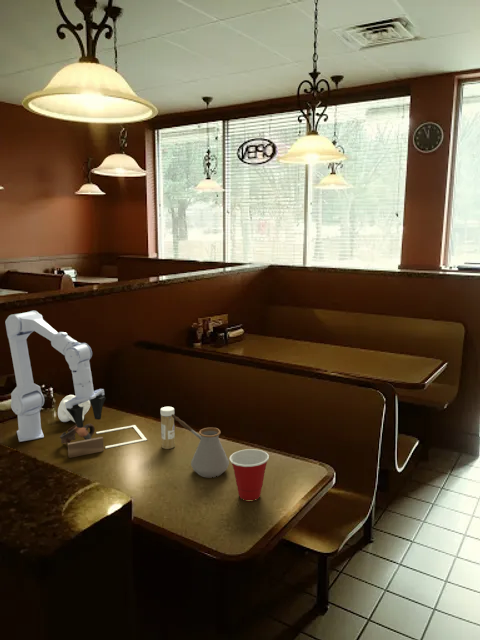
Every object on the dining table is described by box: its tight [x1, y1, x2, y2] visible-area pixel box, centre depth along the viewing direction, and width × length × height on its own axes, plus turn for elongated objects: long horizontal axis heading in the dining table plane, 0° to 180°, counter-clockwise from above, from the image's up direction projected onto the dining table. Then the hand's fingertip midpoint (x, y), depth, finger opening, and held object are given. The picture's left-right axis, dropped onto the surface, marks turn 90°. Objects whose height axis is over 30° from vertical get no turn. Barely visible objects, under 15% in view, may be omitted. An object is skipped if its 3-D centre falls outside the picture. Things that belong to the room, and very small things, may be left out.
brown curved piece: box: [59, 423, 95, 445], centre depth 175 cm, size 12×10×8 cm
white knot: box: [57, 394, 91, 423], centre depth 195 cm, size 11×12×9 cm
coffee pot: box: [169, 414, 230, 478], centre depth 158 cm, size 21×12×15 cm, turn 55°
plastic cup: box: [228, 448, 270, 501], centre depth 142 cm, size 11×11×12 cm
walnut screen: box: [67, 436, 105, 459], centre depth 168 cm, size 1×11×4 cm, turn 118°
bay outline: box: [95, 424, 148, 449], centre depth 181 cm, size 14×14×1 cm
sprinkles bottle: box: [160, 406, 176, 450], centre depth 172 cm, size 5×5×14 cm
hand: (89, 423), depth 167 cm, fingers open, 7 cm apart
